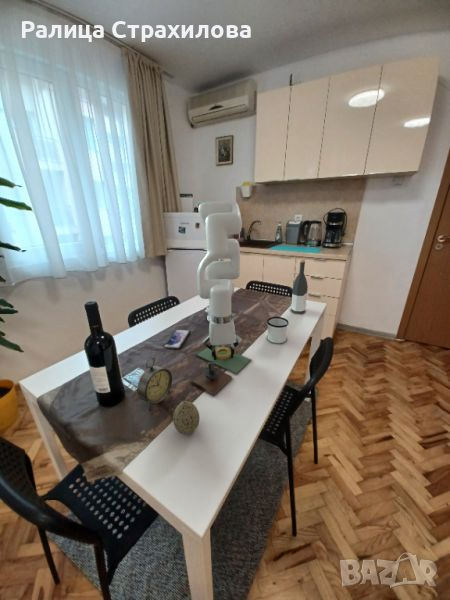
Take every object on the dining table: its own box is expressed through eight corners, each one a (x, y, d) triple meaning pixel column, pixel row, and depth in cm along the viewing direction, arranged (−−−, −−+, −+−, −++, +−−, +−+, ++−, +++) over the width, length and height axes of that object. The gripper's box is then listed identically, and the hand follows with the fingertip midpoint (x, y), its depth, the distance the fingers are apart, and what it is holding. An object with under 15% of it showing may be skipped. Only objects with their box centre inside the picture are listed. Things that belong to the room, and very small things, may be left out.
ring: (211, 355, 96) (211, 352, 95) (221, 347, 100) (221, 345, 100) (224, 361, 92) (224, 358, 92) (234, 353, 97) (234, 350, 96)
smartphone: (163, 346, 104) (176, 329, 118) (164, 348, 105) (176, 331, 118) (179, 347, 103) (189, 330, 117) (179, 349, 103) (190, 331, 117)
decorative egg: (200, 417, 70) (197, 391, 67) (200, 439, 64) (198, 411, 60) (175, 420, 70) (171, 394, 66) (173, 442, 63) (169, 415, 59)
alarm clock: (150, 415, 72) (141, 371, 66) (138, 407, 74) (128, 365, 68) (175, 391, 80) (169, 351, 74) (163, 386, 83) (157, 346, 77)
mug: (285, 346, 104) (286, 327, 100) (263, 342, 107) (264, 324, 104) (289, 333, 114) (291, 316, 110) (270, 329, 117) (271, 313, 114)
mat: (196, 355, 99) (196, 354, 99) (212, 344, 106) (212, 343, 106) (236, 374, 88) (236, 372, 87) (250, 360, 95) (250, 359, 95)
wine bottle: (293, 306, 142) (298, 256, 130) (307, 310, 137) (313, 258, 126) (288, 311, 136) (292, 259, 124) (302, 315, 131) (308, 261, 120)
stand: (192, 383, 84) (190, 364, 81) (210, 368, 91) (209, 350, 88) (214, 395, 78) (212, 376, 75) (231, 378, 85) (231, 360, 82)
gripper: (242, 311, 94) (242, 349, 101) (198, 315, 92) (201, 353, 99) (246, 319, 88) (245, 360, 94) (199, 324, 85) (202, 364, 92)
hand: (223, 356), depth 97 cm, fingers closed on ring, 6 cm apart
